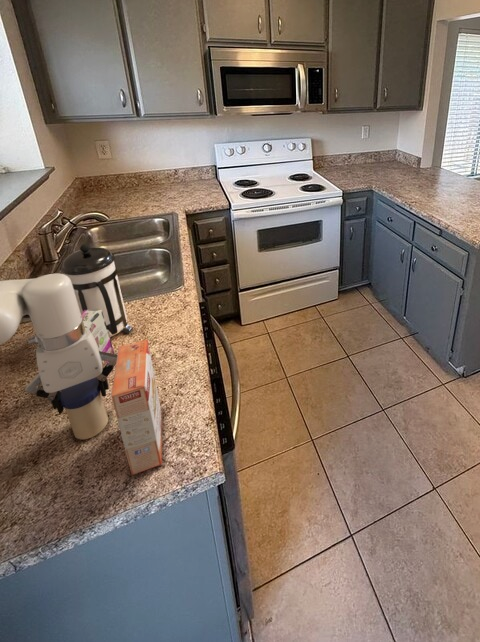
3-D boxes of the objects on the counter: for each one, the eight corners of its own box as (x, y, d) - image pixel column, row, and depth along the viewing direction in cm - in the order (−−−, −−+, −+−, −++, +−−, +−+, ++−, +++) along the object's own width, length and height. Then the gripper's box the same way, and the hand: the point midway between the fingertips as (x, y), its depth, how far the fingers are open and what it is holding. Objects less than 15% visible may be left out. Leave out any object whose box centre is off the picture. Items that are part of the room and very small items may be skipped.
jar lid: (60, 415, 72) (57, 409, 72) (62, 390, 78) (60, 384, 77) (101, 399, 76) (99, 393, 75) (100, 376, 82) (99, 370, 81)
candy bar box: (98, 358, 99) (84, 309, 94) (116, 358, 99) (103, 308, 94) (72, 391, 89) (54, 338, 83) (92, 391, 89) (75, 338, 83)
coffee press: (63, 351, 102) (33, 258, 91) (99, 316, 117) (77, 232, 106) (121, 354, 101) (97, 260, 90) (150, 318, 116) (133, 234, 105)
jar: (73, 445, 76) (60, 408, 72) (74, 421, 81) (62, 386, 77) (109, 430, 79) (98, 394, 75) (107, 408, 84) (97, 373, 81)
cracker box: (164, 464, 72) (146, 385, 65) (130, 477, 70) (108, 396, 62) (163, 409, 84) (148, 337, 77) (135, 418, 82) (116, 345, 75)
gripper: (2, 362, 64) (31, 433, 70) (112, 328, 73) (129, 394, 79) (9, 338, 70) (35, 405, 76) (111, 309, 79) (126, 372, 85)
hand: (83, 399), depth 77 cm, fingers closed on jar lid, 7 cm apart
